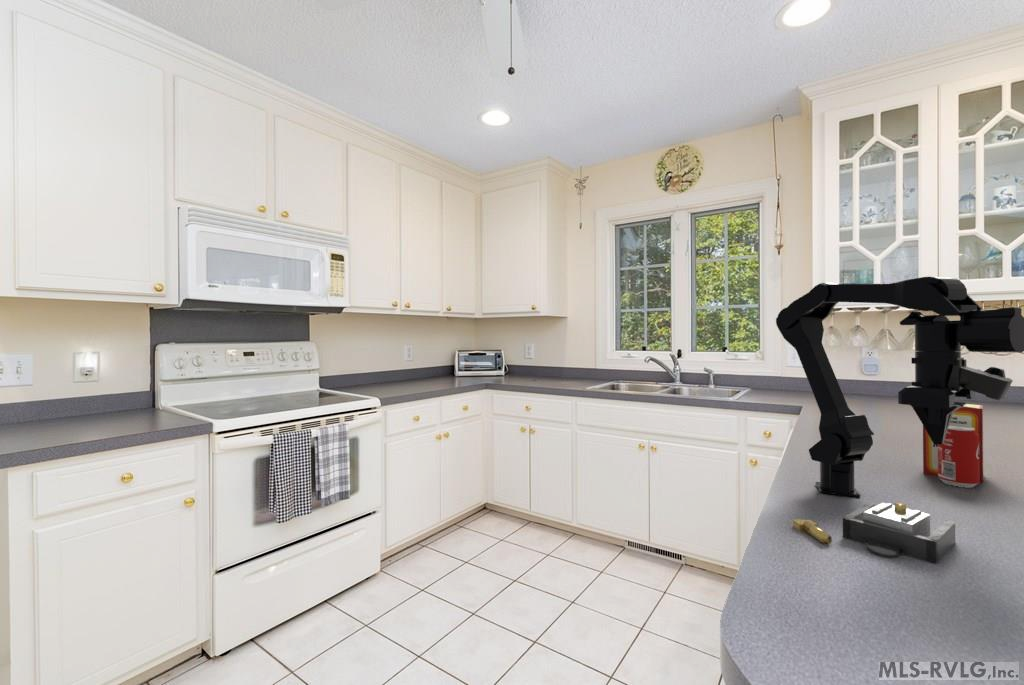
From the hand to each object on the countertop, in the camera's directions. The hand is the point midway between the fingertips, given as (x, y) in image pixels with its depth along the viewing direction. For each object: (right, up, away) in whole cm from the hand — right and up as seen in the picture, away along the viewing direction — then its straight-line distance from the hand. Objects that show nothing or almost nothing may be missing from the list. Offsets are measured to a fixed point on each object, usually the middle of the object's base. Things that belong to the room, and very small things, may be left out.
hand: (938, 444), depth 79 cm
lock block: (-13, -13, -7) cm, 20 cm away
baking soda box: (+27, -13, +26) cm, 39 cm away
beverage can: (+22, -13, +19) cm, 32 cm away
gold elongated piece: (-24, -14, -6) cm, 28 cm away
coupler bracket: (-14, -13, -8) cm, 21 cm away
